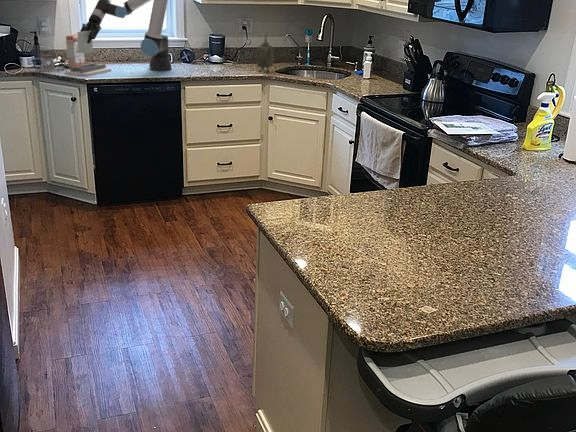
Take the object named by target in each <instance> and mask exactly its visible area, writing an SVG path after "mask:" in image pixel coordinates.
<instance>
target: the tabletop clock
mask: <svg viewBox="0 0 576 432" xmlns="http://www.w3.org/2000/svg"><path fill="white" fill-rule="evenodd" d="M267 40H268V37H267V34H266V35H264V41H263V42H262V44H259V45H258V46H257V51H256V52H257V56H256V66H257V68H260V69H259V70H258V72H259V73H262V71H264V70H265V68H266V72H267V73H269V72H270V70H269V68H270V67H272V66H273V65H274V59H275V58H274V56H275V54H274V53H275V48H274V46H272V45H270V44H269V42H268V41H267Z"/></svg>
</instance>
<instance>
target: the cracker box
mask: <svg viewBox="0 0 576 432" xmlns="http://www.w3.org/2000/svg"><path fill="white" fill-rule="evenodd" d="M77 44H78V33H75V34H70V35H65V45H66V55H67V56H66V57H67V67H68V68H69V69H70V68H71V67H76V66H81V65H86V63H85V61H86V60H85V54H83V53H79V48H78V45H77Z"/></svg>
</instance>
